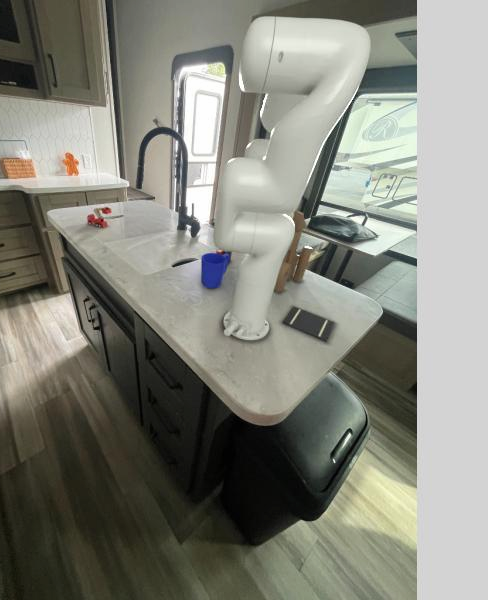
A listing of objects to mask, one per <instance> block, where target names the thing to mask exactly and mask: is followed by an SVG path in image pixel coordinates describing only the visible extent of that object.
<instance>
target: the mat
mask: <svg viewBox="0 0 488 600" xmlns="http://www.w3.org/2000/svg"><path fill="white" fill-rule="evenodd" d="M282 324H283V325H286V326H289V327H290V328H293V329H294V330H298V331H300V332H302V333H305V334H307V335H309V336H312V337H314V338H316V339H318V340H320V341H323V342H327V340H328V338H329V336H330V334H331V331H332V329H333V326H334V324H335V321H333V320H330V319H327V318H324V317H322V316H319V315H317V314H314V313H312V312H309V311H307V310H305V309H302V308H300V307H297V306H293V308H292V309H291V310H290V312H289V313H288V314H287V316H286V318H285V319H284V320H283V322H282Z"/></svg>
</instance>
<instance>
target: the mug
mask: <svg viewBox="0 0 488 600" xmlns="http://www.w3.org/2000/svg"><path fill="white" fill-rule="evenodd" d="M200 259H201V262H200V263H201V264H200V265H201V266H200V267H201V268H200V275H201V276H200V282H201V284H202V286H203V287H204V288H206V289H217V288H219V287H221V285H222V282H223V278H224V275H225V273H226V271H227V269H228V265H229V262H228V261H229V255H228V254H224V255H221V254H217V253H216V252H207V253H203V255H201V258H200Z"/></svg>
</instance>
